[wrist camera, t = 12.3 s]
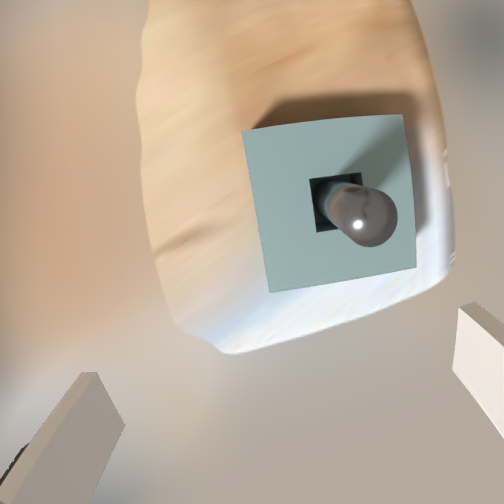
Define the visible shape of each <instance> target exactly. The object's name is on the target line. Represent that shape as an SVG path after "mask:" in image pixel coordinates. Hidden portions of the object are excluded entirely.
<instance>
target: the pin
mask: <svg viewBox="0 0 504 504" xmlns="http://www.w3.org/2000/svg"><path fill="white" fill-rule="evenodd" d="M312 202H313V205H314V207H315V208H316V209H317V210H318V211H319V212H320V213H321V214H322V215H323V216H325V217H326V218H327V219H328V220H329V221H331V222H332V223H333V224H334V225H335V226H336V227H338V228H339V229H340V230H341V231H342V232H343V233H344V234H346V235H347V236H348V237H349V238H350V239H351V240H352V241H354V242H355V243H356V244H358V245H360V246H363V247H376V246H379V245H381V244H383V243H385V242H386V241H387V240H388V239H389V238H390V237H391V236H392V235H393V233H394V231H395V229H396V226H397V221H398V213H397V208H396V206H395V203H394V202H393V200H392V199H391V198H390V197H389V196H388V195H387V194H386V193H384V192H382V191H380V190H377V189H373V188H369V187H364V186H360V185H356V184H352V183H347V182H343V181H339V180H334V179H325V180H322V181H321V182H319V183H318V184H317V185H316V186H315V188H314V190H313V192H312Z"/></svg>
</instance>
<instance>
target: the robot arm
mask: <svg viewBox="0 0 504 504" xmlns="http://www.w3.org/2000/svg"><path fill="white" fill-rule="evenodd" d="M452 370H453V371H454V373H455V374H456V375H457V376H458V378H459V379H460V380H461V381H462V383H463V384H464V385H465V387H467V389H468V391H469V392H470V393H471V394H472V396H473V397H474V398H475V400H476V401H477V402H478V403H479V405H480V406H481V408H482V409H483V410H484V412H485V413H486V415H487V416H488V417H489V418H490V420H491V421H492V423H493V424H494V426H495V427H496V428H497V430H498V431H499V433H500V434H501V435H502V437H503V438H504V324H503V323H502V322H500V321H499V320H497V318H495V317H494V316H493V315H492V314H490V313H489V312H488V311H486V310H485V309H484V308H482V307H481V306H480V305H479V304H477V303H476V302H473V303H471V304H467V305H464V306H461V307H459V311H458V324H457V335H456V344H455V353H454V360H453V368H452ZM124 427H125V423H124V422H123V420H122V418H121V416H120V415H119V413H118V411H117V409H116V408H115V406H114V404H113V402H112V400H111V399H110V397H109V395H108V393H107V391H106V389H105V387H104V385H103V383H102V382H101V380H100V378H99V376H98V374H97V372H87V373H81V374H80V375H79V377H78V378H77V379H76V381H75V382H74V383H73V384H72V386H71V387H70V388H69V390H68V391H67V392H66V394H65V395H64V396H63V398H62V399H61V400H60V402H59V403H58V404H57V406H56V407H55V409H54V410H53V411H52V412H51V414H50V415H49V417H48V418H47V419H46V421H45V422H44V423H43V425H42V426H41V428H40V429H39V430H38V432H37V433H36V434H35V436H34V437H33V439H32V440H31V442H29V443H28V444H27V445H26V446H25V447H24V448H22V449H21V450H20V452H19V453H18V454H17V456H16V457H15V459H14V462H12V463H11V464H10V466H9V470H8V469H7V471H6V472H5V473H4V475H3V476H2V478H1V479H0V504H89V503H90V501H91V498H92V496H93V494H94V491H95V489H96V487H97V485H98V482H99V480H100V478H101V476H102V474H103V471H104V469H105V467H106V465H107V463H108V461H109V459H110V456H111V454H112V452H113V450H114V448H115V446H116V444H117V441H118V439H119V437H120V435H121V433H122V431H123V429H124Z"/></svg>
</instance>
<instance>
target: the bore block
mask: <svg viewBox="0 0 504 504" xmlns="http://www.w3.org/2000/svg"><path fill="white" fill-rule="evenodd" d="M242 135H243V141H244V147H245V152H246V158H247V164H248V169H249V175H250V181H251V187H252V192H253V198H254V204H255V210H256V216H257V222H258V227H259V233H260V239H261V245H262V251H263V257H264V263H265V269H266V275H267V281H268V287H269V293H273V292H280V291H286V290H293V289H299V288H305V287H311V286H317V285H324V284H329V283H335V282H341V281H347V280H353V279H358V278H364V277H369V276H375V275H380V274H385V273H391V272H396V271H401V270H406V269H411V268H416V267H417V264H416V229H415V211H414V198H413V187H412V177H411V168H410V159H409V152H408V145H407V138H406V131H405V125H404V119H403V114H392V115H373V116H359V117H346V118H335V119H325V120H316V121H307V122H299V123H292V124H284V125H277V126H271V127H264V128H258V129H252V130H246V131H242ZM325 179H334V180H339V181H343V182H347V183H352V184H356V185H360V186H364V187H369V188H373V189H377V190H380V191H382V192H384V193H386V194H387V195H388V196H389V197H390V198H391V199H392V200H393V202H394V203H395V206H396V208H397V213H398V221H397V226H396V229H395V231H394V233H393V235H392V236H391V237H390V238H389V239H388V240H387V241H386V242H385V243H383V244H381V245H379V246H376V247H363V246H360V245H358V244H356V243H355V242H354V241H352V240H351V239H350V238H349V237H348V236H347V235H346V234H344V233H343V232H342V231H341V230H340V229H339V228H338V227H336V226H335V225H334V224H333V223H332V222H331V221H329V220H328V219H327V218H326V217H325V216H323V215H322V214H321V213H320V212H319V211H318V210H317V209H316V208H315V207H314V205H313V202H312V192H313V190H314V188H315V186H316V185H317V184H318V183H319V182H321V181H322V180H325Z"/></svg>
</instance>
